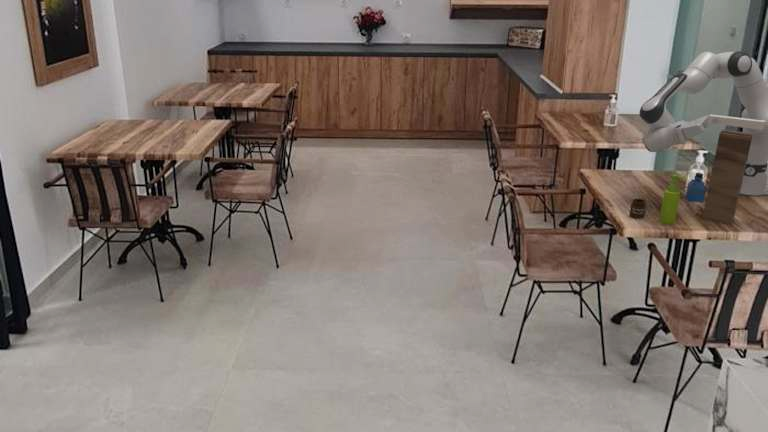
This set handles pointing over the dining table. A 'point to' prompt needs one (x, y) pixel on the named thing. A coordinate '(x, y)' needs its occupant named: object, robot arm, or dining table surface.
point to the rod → (738, 122)
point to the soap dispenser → (670, 201)
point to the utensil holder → (638, 207)
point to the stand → (727, 176)
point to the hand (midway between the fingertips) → (718, 118)
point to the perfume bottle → (696, 189)
